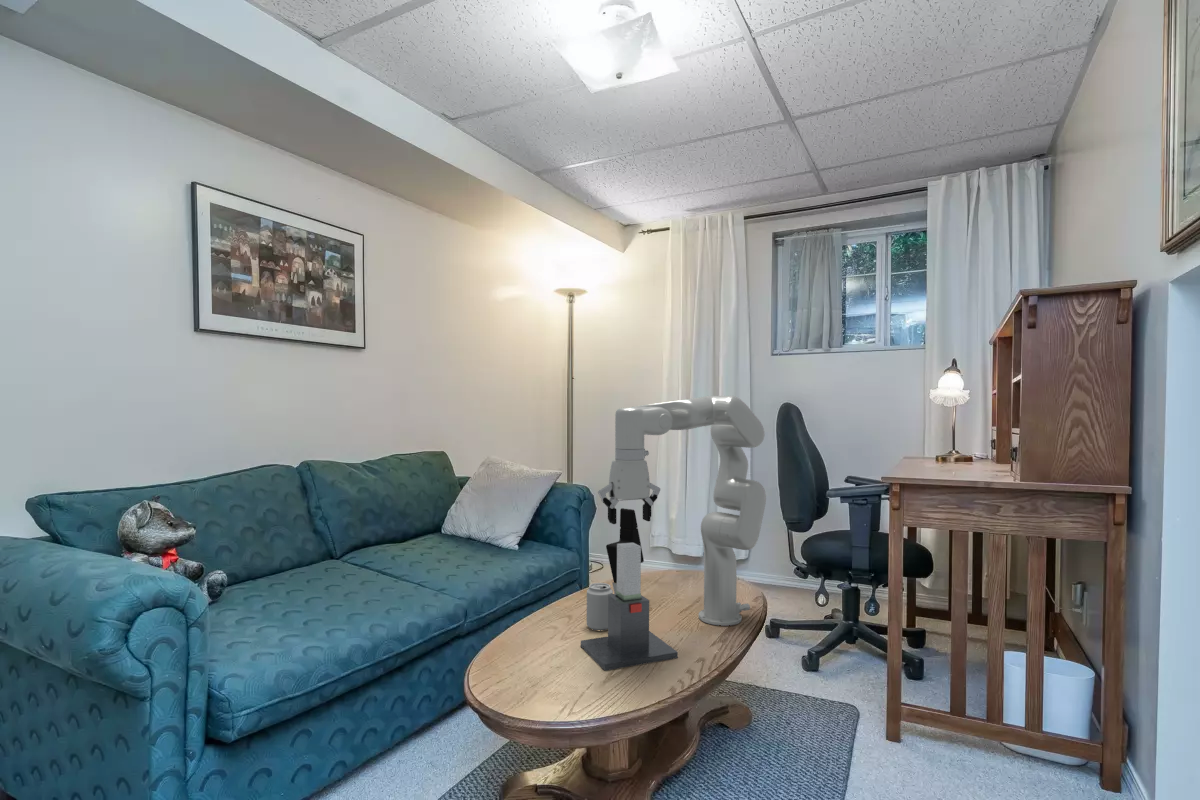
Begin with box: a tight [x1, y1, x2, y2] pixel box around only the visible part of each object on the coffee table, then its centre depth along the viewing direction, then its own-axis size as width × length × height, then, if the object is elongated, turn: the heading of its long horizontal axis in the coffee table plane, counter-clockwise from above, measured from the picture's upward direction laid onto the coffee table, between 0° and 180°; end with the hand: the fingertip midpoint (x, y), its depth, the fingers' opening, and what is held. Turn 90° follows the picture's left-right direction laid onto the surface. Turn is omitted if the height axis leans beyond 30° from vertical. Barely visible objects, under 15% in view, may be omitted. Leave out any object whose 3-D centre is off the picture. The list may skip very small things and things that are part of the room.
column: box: [616, 542, 642, 602], centre depth 157 cm, size 5×5×20 cm
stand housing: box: [580, 593, 679, 671], centre depth 156 cm, size 20×16×14 cm
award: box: [605, 507, 645, 594], centre depth 196 cm, size 15×5×30 cm, turn 144°
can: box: [586, 582, 614, 632], centre depth 174 cm, size 8×8×12 cm
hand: (629, 521), depth 157 cm, fingers open, 9 cm apart
